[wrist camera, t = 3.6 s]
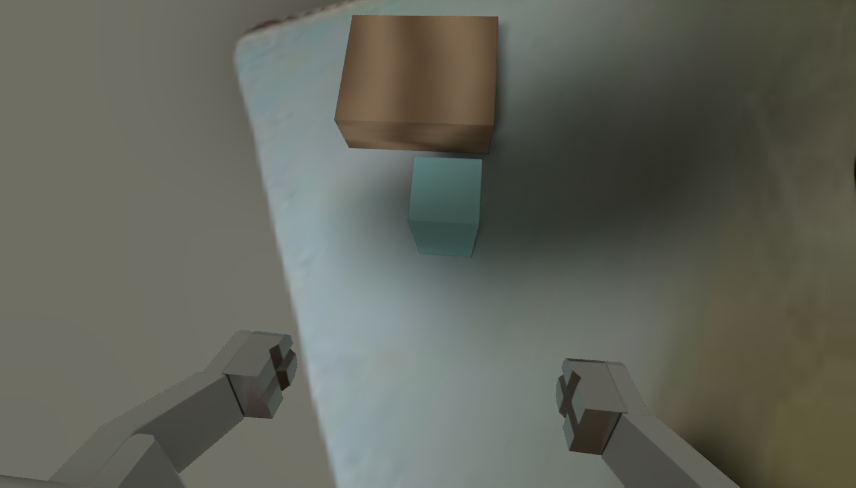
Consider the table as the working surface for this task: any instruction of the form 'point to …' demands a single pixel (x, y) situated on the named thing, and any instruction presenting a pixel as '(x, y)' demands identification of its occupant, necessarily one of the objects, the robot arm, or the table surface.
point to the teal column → (445, 205)
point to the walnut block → (419, 83)
